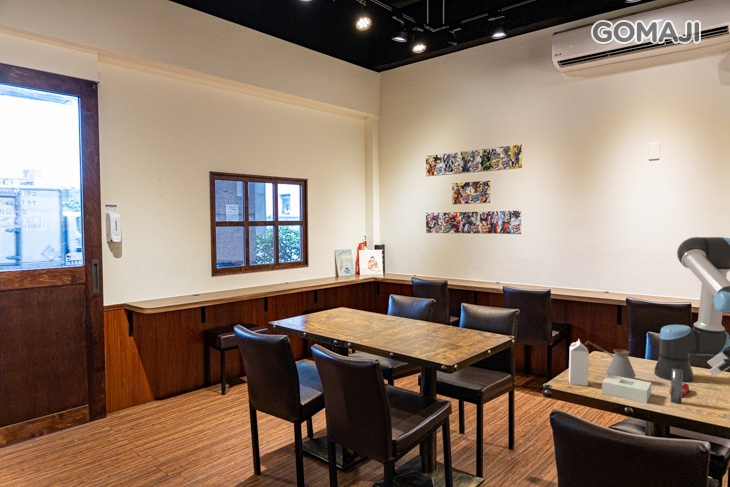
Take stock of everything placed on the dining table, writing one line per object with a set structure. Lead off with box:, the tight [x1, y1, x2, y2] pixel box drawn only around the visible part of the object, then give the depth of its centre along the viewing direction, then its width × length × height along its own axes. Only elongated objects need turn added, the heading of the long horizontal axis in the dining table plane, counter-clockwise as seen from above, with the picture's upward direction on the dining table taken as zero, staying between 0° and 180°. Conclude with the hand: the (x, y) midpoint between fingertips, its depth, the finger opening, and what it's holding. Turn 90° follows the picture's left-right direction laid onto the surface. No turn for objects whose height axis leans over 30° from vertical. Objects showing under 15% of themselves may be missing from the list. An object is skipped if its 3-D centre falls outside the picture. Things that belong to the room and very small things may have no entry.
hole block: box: [601, 374, 652, 404], centre depth 196 cm, size 16×12×5 cm
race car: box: [669, 382, 690, 398], centre depth 198 cm, size 13×5×4 cm, turn 134°
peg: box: [670, 368, 683, 405], centre depth 187 cm, size 4×4×13 cm
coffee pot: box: [584, 340, 636, 379], centre depth 217 cm, size 21×12×15 cm, turn 45°
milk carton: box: [568, 338, 590, 387], centre depth 209 cm, size 7×7×19 cm
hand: (710, 369), depth 181 cm, fingers open, 13 cm apart
